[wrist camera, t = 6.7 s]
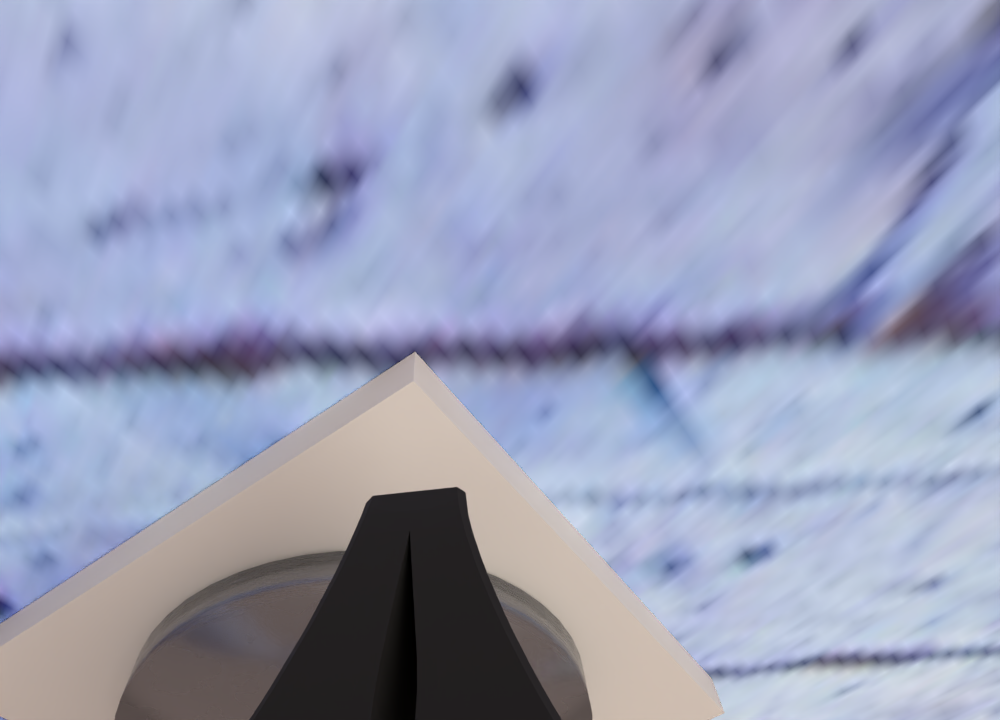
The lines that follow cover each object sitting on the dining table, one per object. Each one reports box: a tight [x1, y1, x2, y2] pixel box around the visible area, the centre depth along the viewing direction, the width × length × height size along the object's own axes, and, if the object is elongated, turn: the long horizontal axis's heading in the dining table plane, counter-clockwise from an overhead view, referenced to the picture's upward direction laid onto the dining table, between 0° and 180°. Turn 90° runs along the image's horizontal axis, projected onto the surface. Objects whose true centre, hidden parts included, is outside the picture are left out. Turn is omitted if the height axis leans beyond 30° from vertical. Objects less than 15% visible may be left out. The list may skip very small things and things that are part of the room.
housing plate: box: [0, 352, 724, 720], centre depth 26 cm, size 20×20×2 cm
